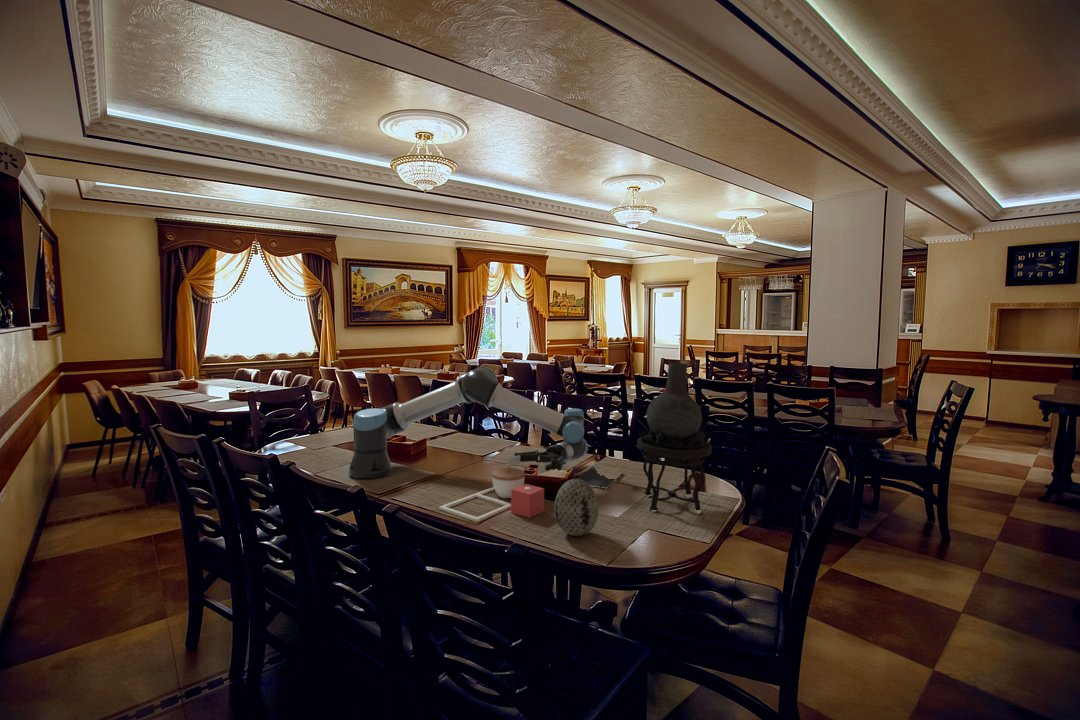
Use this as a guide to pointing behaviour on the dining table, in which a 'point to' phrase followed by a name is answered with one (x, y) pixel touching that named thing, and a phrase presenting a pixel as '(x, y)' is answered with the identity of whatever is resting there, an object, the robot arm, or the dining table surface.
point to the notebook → (595, 479)
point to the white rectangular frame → (479, 495)
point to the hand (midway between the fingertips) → (522, 466)
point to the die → (527, 500)
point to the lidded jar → (507, 480)
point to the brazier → (674, 436)
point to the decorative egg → (576, 507)
